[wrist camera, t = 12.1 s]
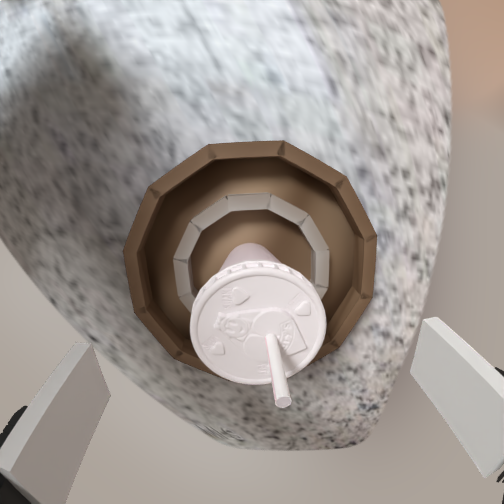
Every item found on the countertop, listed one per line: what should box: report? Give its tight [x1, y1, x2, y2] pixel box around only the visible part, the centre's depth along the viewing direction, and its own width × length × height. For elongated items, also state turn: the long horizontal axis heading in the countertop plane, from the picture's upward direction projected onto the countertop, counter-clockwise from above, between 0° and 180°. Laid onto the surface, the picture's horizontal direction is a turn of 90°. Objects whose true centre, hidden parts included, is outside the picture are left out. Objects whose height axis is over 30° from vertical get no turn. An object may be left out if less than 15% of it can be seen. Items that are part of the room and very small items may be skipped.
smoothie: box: [190, 243, 326, 408], centre depth 16 cm, size 6×6×14 cm
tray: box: [123, 140, 377, 381], centre depth 22 cm, size 18×18×3 cm
